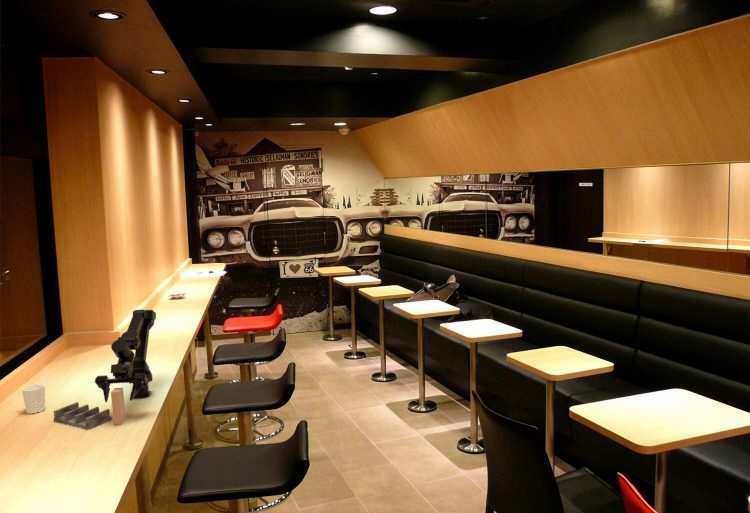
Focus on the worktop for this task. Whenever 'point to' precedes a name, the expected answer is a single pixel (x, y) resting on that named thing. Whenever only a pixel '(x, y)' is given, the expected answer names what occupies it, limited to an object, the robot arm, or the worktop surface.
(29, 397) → the white cup
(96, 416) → the rack
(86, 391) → the worktop surface
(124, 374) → the robot arm
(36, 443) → the worktop surface
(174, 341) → the worktop surface
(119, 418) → the clay bar
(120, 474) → the worktop surface
